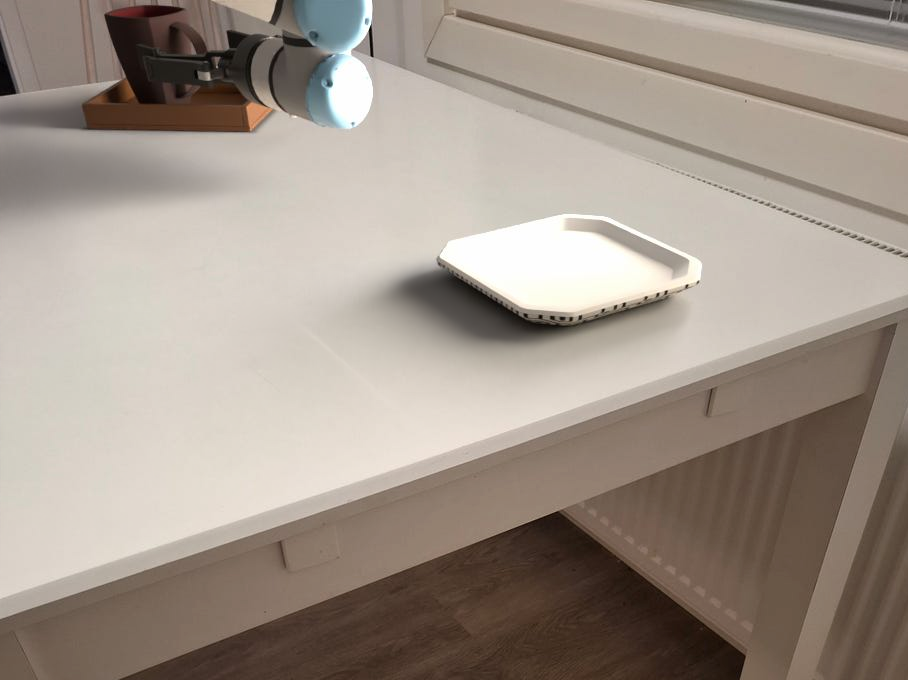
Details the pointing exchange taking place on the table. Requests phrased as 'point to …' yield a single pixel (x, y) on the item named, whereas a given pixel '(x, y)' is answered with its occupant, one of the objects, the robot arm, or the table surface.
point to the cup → (153, 30)
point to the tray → (174, 111)
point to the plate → (570, 268)
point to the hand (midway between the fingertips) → (186, 48)
